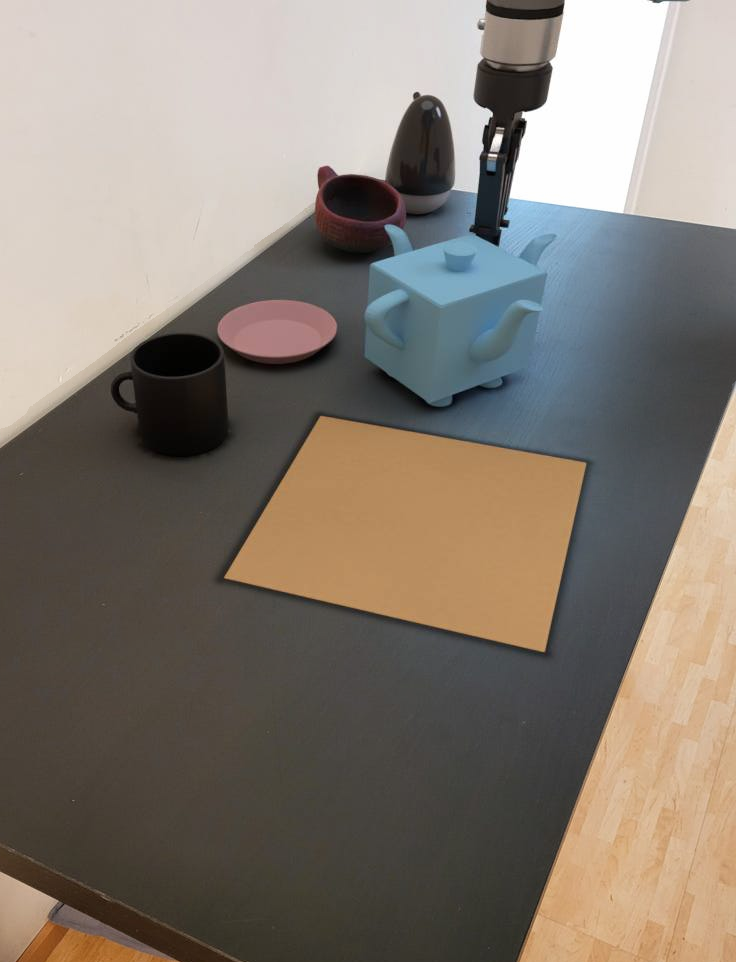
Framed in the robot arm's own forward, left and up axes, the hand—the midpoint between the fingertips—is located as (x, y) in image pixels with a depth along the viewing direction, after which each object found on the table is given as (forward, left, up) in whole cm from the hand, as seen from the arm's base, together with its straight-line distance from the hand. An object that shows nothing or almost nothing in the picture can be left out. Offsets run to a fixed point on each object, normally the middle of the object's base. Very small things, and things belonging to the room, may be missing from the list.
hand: (480, 285), depth 112 cm
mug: (+26, +34, -5) cm, 43 cm away
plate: (+22, +12, -5) cm, 25 cm away
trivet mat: (-2, +40, -5) cm, 40 cm away
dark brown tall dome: (+16, -34, -5) cm, 38 cm away
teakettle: (0, +13, -5) cm, 14 cm away
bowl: (+22, -18, -5) cm, 29 cm away
